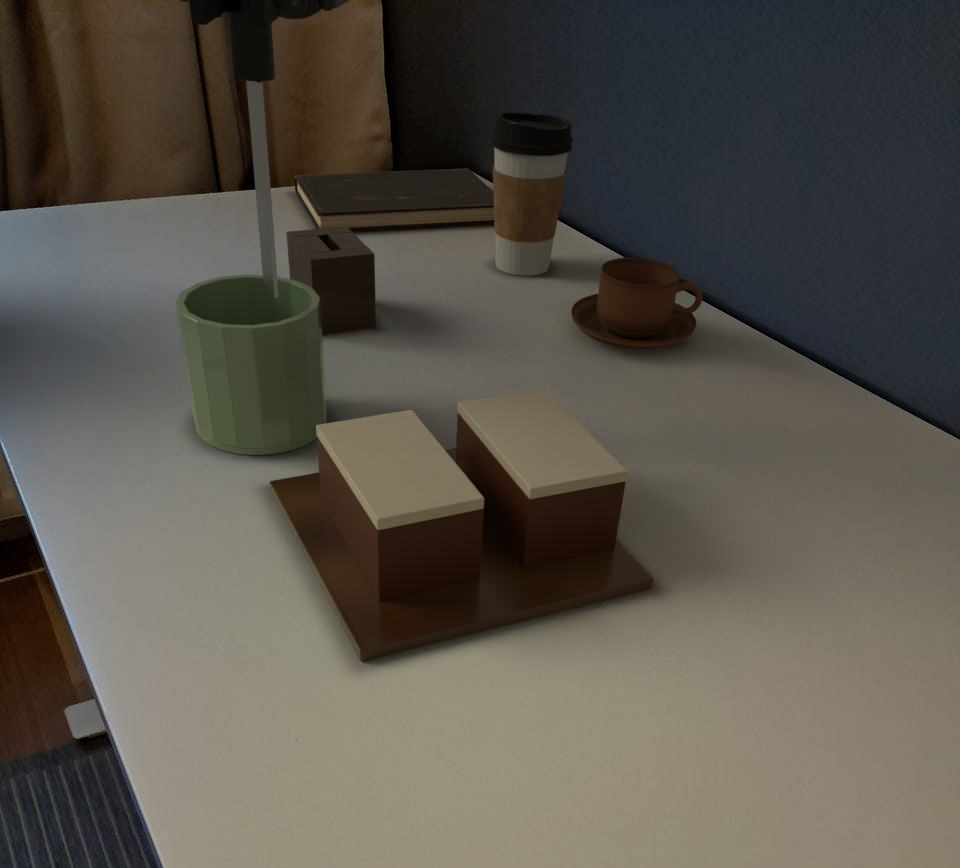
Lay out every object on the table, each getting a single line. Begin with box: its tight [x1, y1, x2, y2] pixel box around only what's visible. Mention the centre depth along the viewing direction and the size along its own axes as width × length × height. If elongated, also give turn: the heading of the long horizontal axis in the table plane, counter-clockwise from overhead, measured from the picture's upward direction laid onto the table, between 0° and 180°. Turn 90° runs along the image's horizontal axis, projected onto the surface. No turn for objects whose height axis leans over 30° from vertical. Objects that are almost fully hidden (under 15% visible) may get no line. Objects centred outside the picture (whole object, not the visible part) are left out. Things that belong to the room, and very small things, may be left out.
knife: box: [225, 0, 279, 298], centre depth 61 cm, size 4×3×22 cm
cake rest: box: [316, 409, 484, 601], centre depth 63 cm, size 12×7×6 cm, turn 24°
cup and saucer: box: [571, 257, 703, 350], centre depth 93 cm, size 12×12×6 cm
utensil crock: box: [175, 274, 328, 456], centre depth 74 cm, size 10×10×10 cm
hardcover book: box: [293, 168, 495, 233], centre depth 121 cm, size 16×23×2 cm
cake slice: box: [455, 388, 628, 568], centre depth 66 cm, size 12×7×6 cm, turn 23°
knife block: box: [286, 226, 377, 336], centre depth 93 cm, size 8×6×7 cm
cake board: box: [269, 447, 655, 662], centre depth 67 cm, size 20×20×1 cm
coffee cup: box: [490, 111, 574, 277], centre depth 103 cm, size 8×8×15 cm
